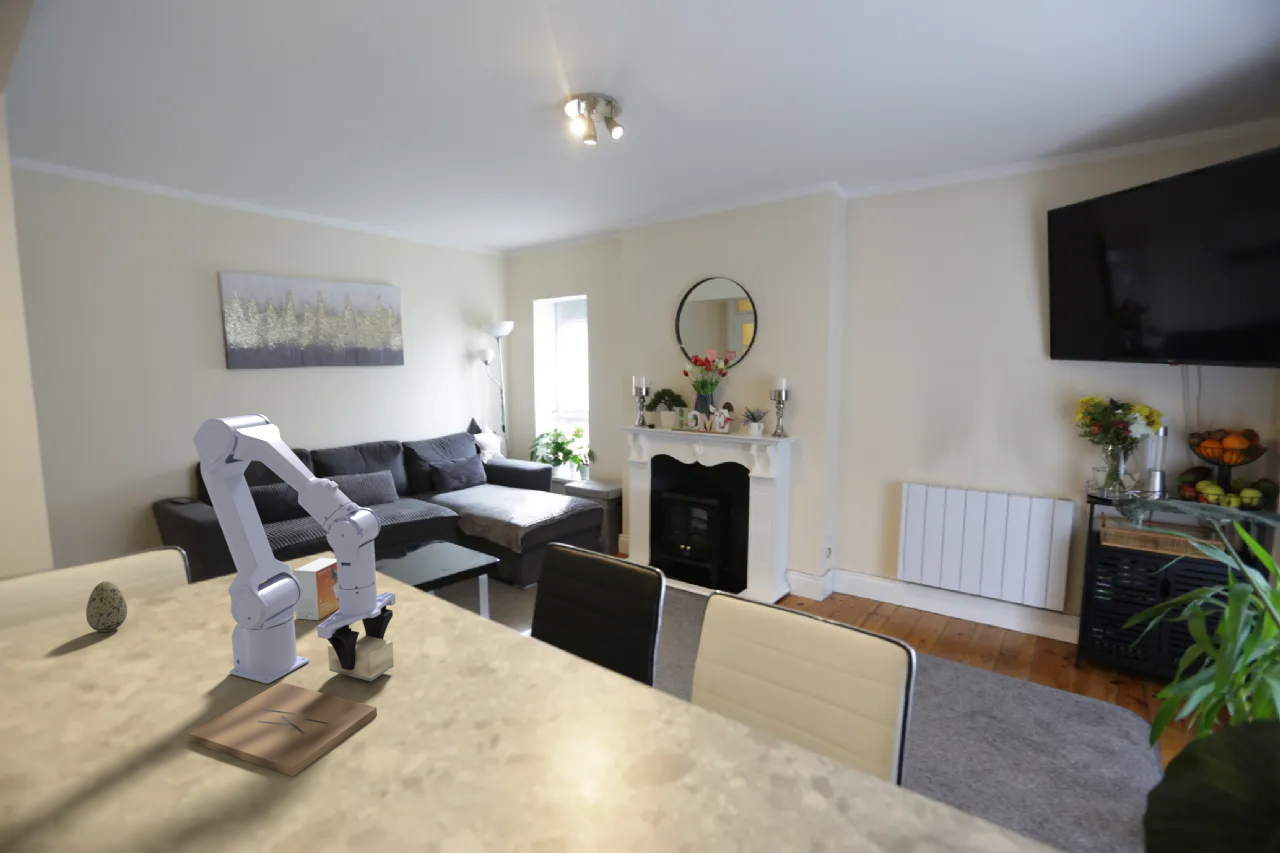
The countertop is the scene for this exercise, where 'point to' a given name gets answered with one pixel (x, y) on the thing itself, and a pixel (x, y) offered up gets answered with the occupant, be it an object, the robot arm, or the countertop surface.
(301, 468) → the robot arm
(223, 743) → the oak board
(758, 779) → the countertop surface
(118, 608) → the decorative egg
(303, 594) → the small box
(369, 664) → the block
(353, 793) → the countertop surface
